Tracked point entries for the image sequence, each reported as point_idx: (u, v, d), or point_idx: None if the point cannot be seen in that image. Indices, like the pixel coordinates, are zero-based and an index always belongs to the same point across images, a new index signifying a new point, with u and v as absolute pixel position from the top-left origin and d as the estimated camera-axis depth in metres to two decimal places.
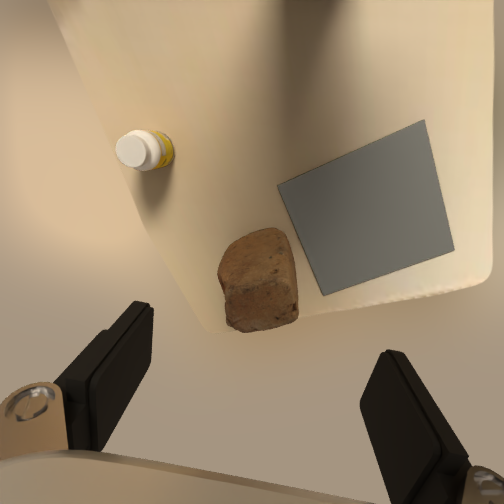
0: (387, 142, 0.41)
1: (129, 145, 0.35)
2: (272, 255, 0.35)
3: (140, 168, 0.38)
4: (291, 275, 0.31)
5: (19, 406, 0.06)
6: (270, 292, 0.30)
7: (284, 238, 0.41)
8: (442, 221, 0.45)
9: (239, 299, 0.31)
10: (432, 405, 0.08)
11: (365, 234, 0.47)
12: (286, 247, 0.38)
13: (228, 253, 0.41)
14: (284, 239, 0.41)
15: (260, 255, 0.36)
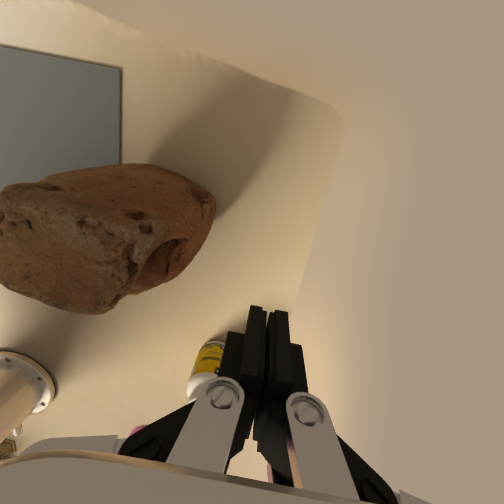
0: None
1: None
2: None
3: None
4: None
5: (213, 397, 0.08)
6: (22, 276, 0.16)
7: None
8: None
9: (80, 296, 0.16)
10: (286, 349, 0.09)
11: (30, 136, 0.32)
12: None
13: None
14: None
15: None
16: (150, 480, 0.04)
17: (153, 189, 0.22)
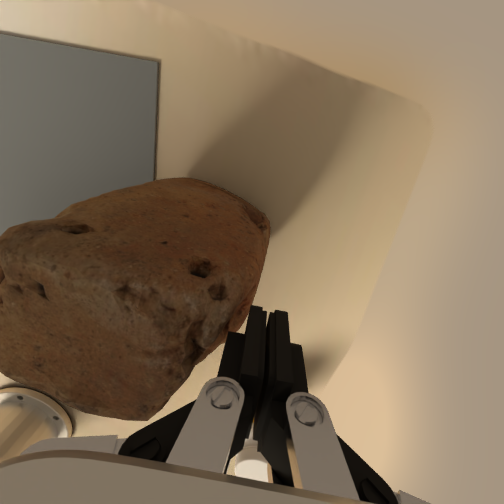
0: None
1: (250, 477, 0.28)
2: None
3: None
4: None
5: (213, 397, 0.08)
6: (31, 364, 0.11)
7: None
8: None
9: (117, 397, 0.10)
10: (286, 349, 0.09)
11: (47, 145, 0.27)
12: None
13: None
14: None
15: None
16: (150, 480, 0.04)
17: (209, 217, 0.16)
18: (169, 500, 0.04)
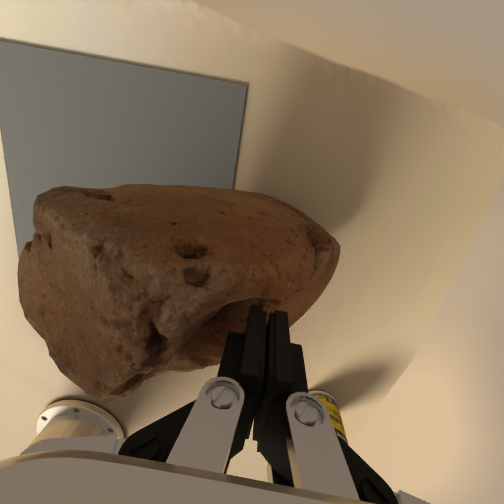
0: None
1: None
2: None
3: None
4: None
5: (213, 397, 0.08)
6: (39, 310, 0.12)
7: None
8: (6, 112, 0.26)
9: (82, 364, 0.10)
10: (286, 349, 0.09)
11: (128, 164, 0.27)
12: None
13: None
14: None
15: None
16: (150, 480, 0.04)
17: (248, 219, 0.15)
18: (169, 500, 0.04)
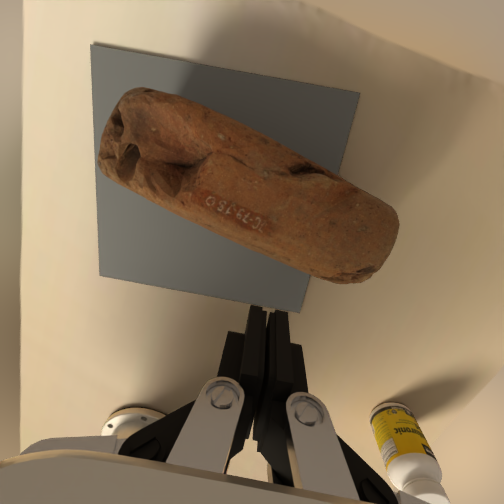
0: (147, 277, 0.31)
1: None
2: None
3: (434, 469, 0.28)
4: None
5: (213, 397, 0.08)
6: None
7: None
8: (101, 120, 0.25)
9: None
10: (286, 349, 0.09)
11: None
12: None
13: (247, 247, 0.18)
14: None
15: None
16: (150, 480, 0.04)
17: None
18: (169, 500, 0.04)
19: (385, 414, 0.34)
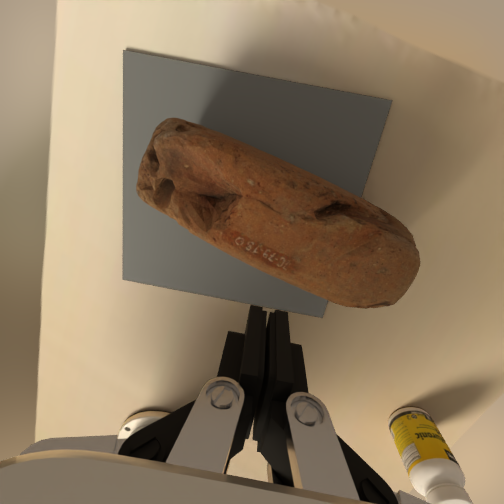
0: (170, 282, 0.31)
1: None
2: None
3: (458, 475, 0.28)
4: None
5: (213, 397, 0.08)
6: None
7: None
8: (131, 125, 0.25)
9: None
10: (286, 349, 0.09)
11: None
12: None
13: None
14: None
15: None
16: (150, 480, 0.04)
17: (278, 160, 0.20)
18: (169, 500, 0.04)
19: (405, 419, 0.34)
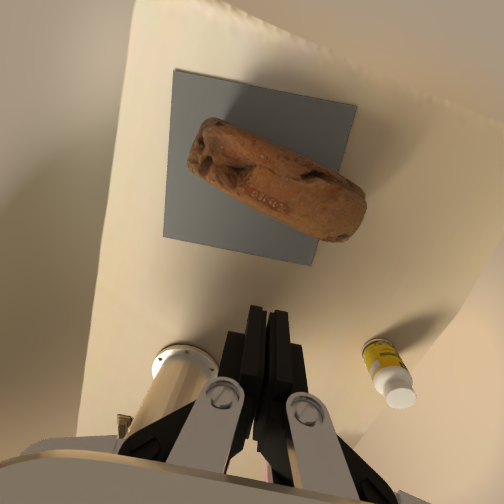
0: (198, 238, 0.42)
1: (397, 402, 0.38)
2: None
3: (407, 376, 0.40)
4: None
5: (213, 397, 0.08)
6: None
7: None
8: (176, 122, 0.36)
9: None
10: (286, 349, 0.09)
11: None
12: None
13: None
14: None
15: None
16: (150, 480, 0.04)
17: (278, 145, 0.30)
18: (169, 500, 0.04)
19: (373, 345, 0.45)
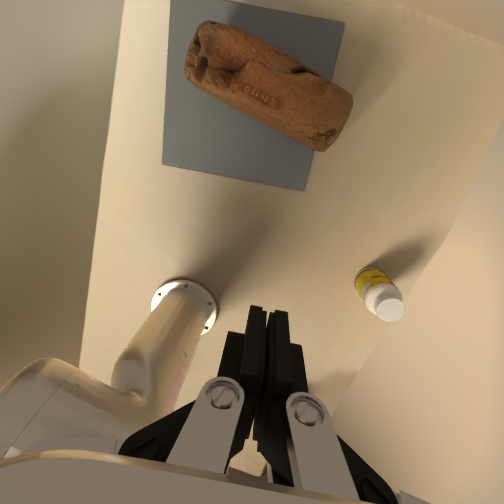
0: (196, 165, 0.44)
1: (387, 313, 0.40)
2: (237, 109, 0.38)
3: (396, 291, 0.41)
4: None
5: (213, 397, 0.08)
6: None
7: None
8: (173, 44, 0.38)
9: None
10: (286, 349, 0.09)
11: None
12: None
13: (267, 120, 0.33)
14: None
15: (241, 111, 0.37)
16: (150, 480, 0.04)
17: None
18: (169, 500, 0.04)
19: (365, 272, 0.47)
